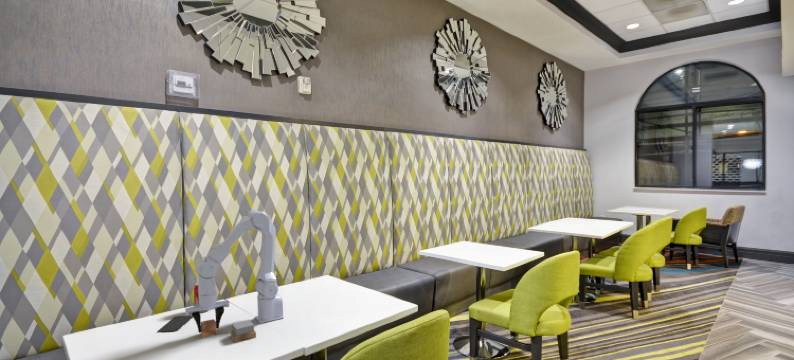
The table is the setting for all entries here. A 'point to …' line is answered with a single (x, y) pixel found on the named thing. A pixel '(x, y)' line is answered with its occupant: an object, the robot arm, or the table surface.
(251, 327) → the tower top
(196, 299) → the soda can
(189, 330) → the table surface
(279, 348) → the table surface
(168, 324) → the phone
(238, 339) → the tower base
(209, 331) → the terracotta block
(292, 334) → the table surface
